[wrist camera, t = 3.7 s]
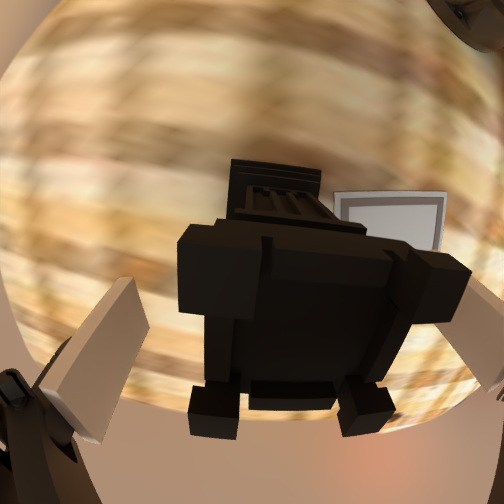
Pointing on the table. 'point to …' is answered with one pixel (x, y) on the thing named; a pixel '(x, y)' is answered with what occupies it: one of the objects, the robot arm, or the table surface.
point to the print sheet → (396, 215)
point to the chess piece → (302, 303)
